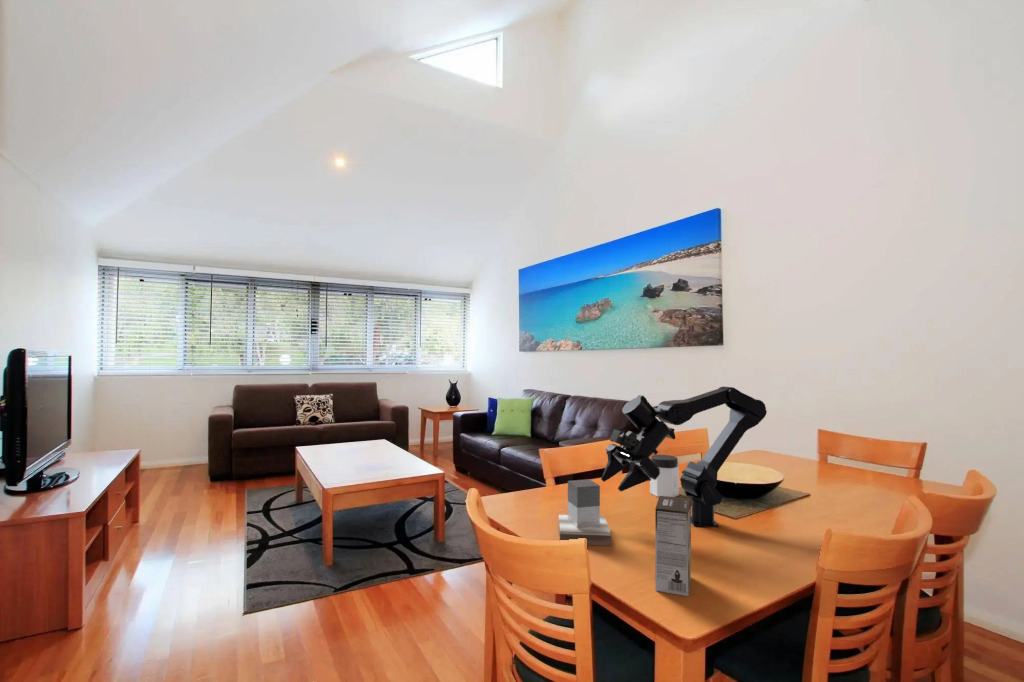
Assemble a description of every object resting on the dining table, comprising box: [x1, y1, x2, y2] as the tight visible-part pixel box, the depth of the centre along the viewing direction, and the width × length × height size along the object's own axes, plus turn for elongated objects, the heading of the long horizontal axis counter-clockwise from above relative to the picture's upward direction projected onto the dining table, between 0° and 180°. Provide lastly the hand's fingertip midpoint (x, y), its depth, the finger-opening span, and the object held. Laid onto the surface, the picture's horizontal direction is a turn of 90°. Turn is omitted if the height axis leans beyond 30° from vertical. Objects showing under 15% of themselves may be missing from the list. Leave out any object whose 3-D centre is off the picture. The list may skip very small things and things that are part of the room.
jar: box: [649, 454, 680, 498], centre depth 157 cm, size 9×8×12 cm
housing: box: [567, 478, 601, 529], centre depth 122 cm, size 6×6×10 cm
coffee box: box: [654, 496, 692, 597], centre depth 96 cm, size 9×6×16 cm
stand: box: [558, 513, 612, 547], centre depth 121 cm, size 12×12×3 cm
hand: (610, 485), depth 124 cm, fingers open, 9 cm apart
